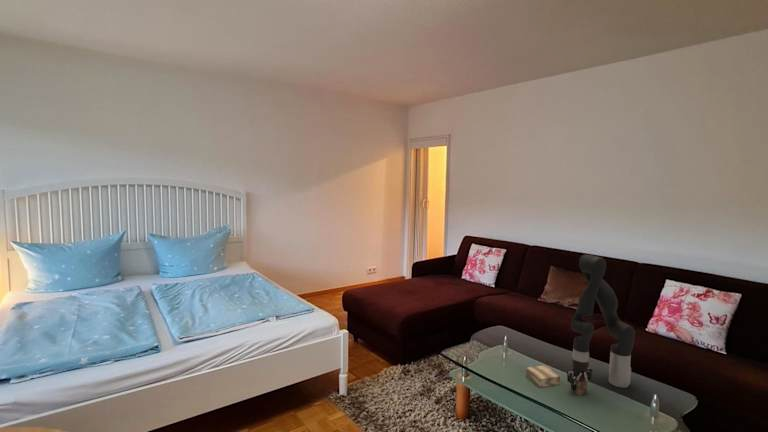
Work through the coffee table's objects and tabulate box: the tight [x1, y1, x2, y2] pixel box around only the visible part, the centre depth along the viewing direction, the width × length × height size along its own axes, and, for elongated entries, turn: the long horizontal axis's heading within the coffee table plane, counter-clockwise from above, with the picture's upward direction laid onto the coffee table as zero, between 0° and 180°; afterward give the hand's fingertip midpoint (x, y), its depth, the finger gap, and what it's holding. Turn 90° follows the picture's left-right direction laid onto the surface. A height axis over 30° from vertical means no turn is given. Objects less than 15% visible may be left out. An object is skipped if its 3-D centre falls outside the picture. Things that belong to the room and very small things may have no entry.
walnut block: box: [570, 376, 588, 396], centre depth 200 cm, size 5×5×7 cm
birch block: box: [525, 364, 561, 388], centre depth 211 cm, size 12×12×5 cm
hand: (578, 389), depth 200 cm, fingers open, 6 cm apart
